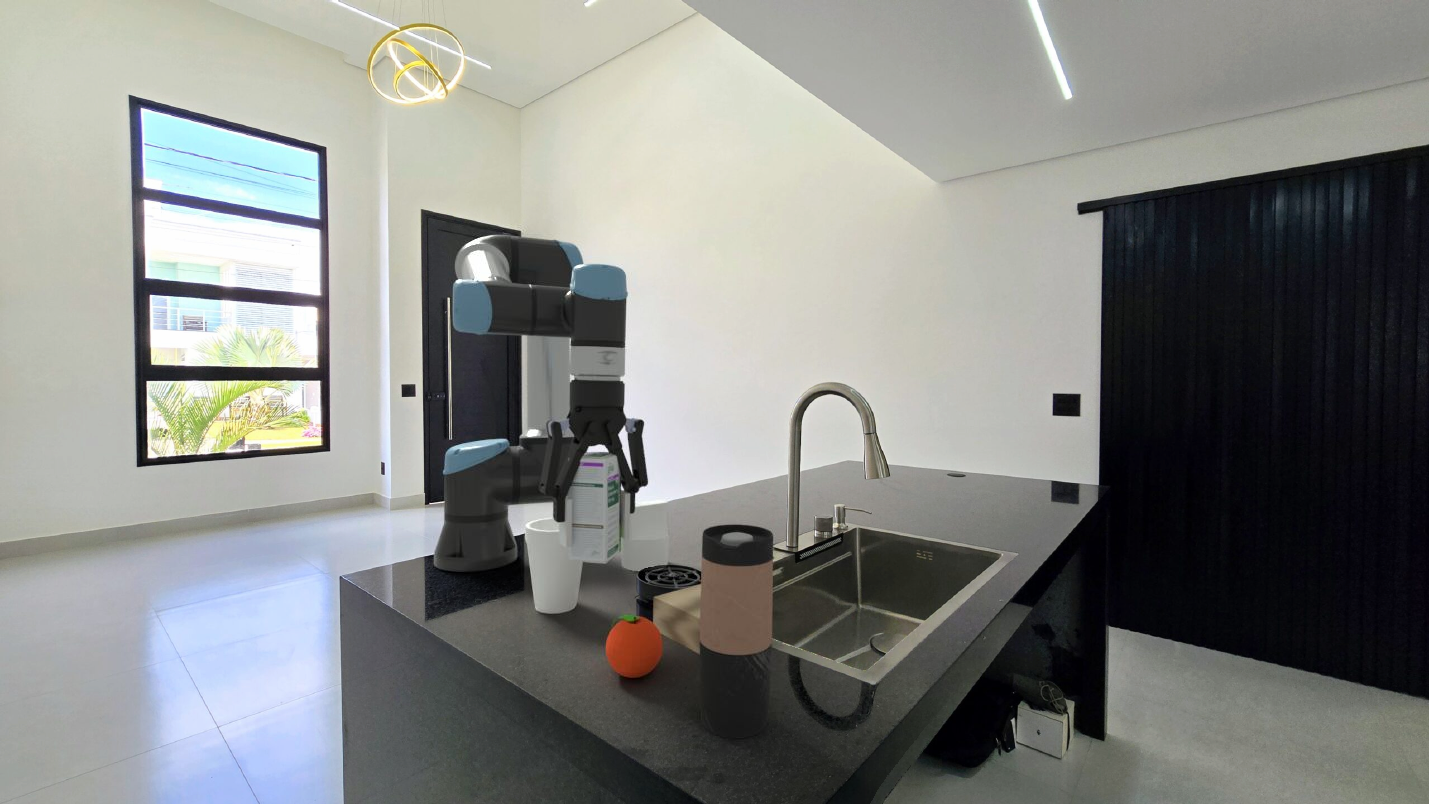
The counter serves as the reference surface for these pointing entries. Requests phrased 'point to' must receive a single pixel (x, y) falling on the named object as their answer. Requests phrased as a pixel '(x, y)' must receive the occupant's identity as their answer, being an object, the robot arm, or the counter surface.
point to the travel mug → (736, 629)
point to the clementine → (634, 646)
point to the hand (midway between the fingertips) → (594, 540)
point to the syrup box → (596, 509)
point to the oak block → (679, 616)
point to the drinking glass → (647, 536)
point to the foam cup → (551, 568)
